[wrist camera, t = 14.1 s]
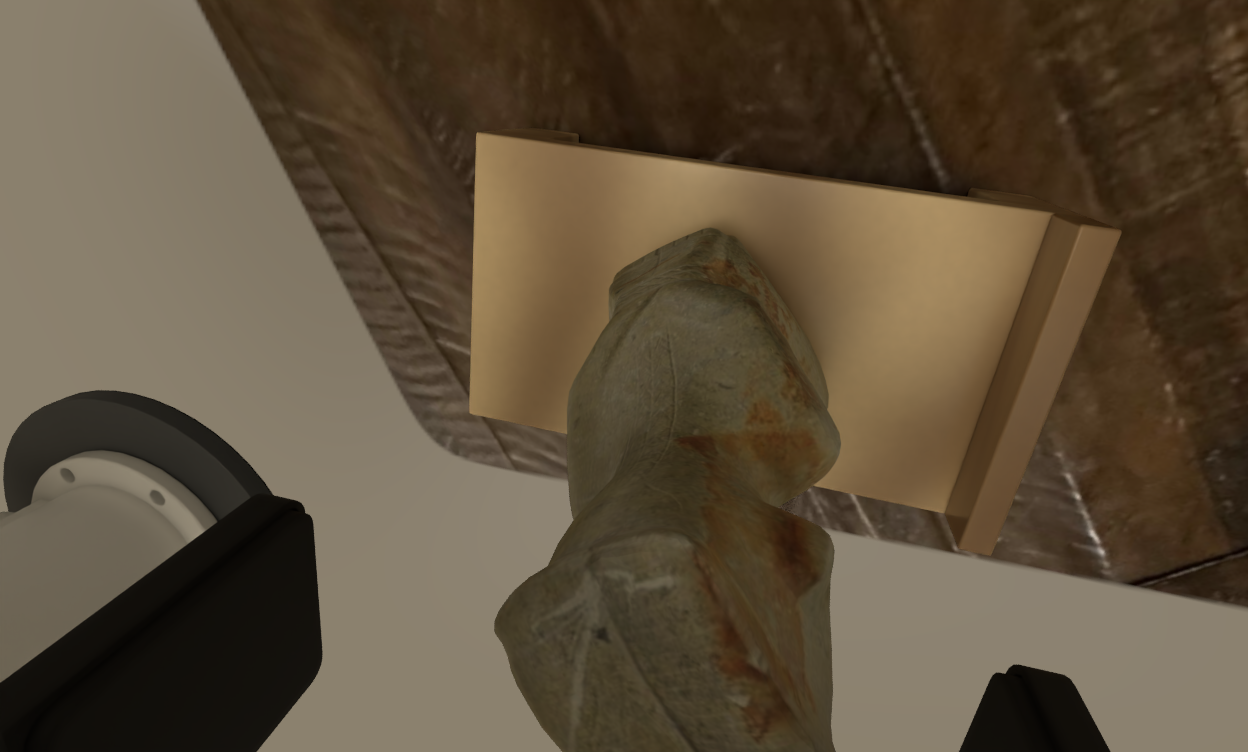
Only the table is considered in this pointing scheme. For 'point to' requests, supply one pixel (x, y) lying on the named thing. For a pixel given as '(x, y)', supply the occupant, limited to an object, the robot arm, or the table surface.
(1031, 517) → the table surface
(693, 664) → the sculpture
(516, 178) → the shelf
